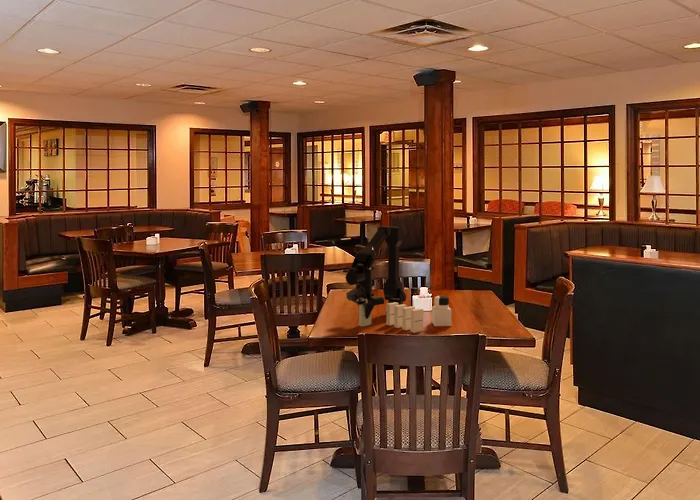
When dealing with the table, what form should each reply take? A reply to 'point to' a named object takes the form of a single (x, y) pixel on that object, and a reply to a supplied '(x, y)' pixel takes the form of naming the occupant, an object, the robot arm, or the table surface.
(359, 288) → the robot arm
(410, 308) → the domino
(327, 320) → the table surface
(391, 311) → the domino
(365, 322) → the sage domino
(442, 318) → the medicine bottle
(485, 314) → the table surface
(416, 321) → the domino
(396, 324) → the domino
